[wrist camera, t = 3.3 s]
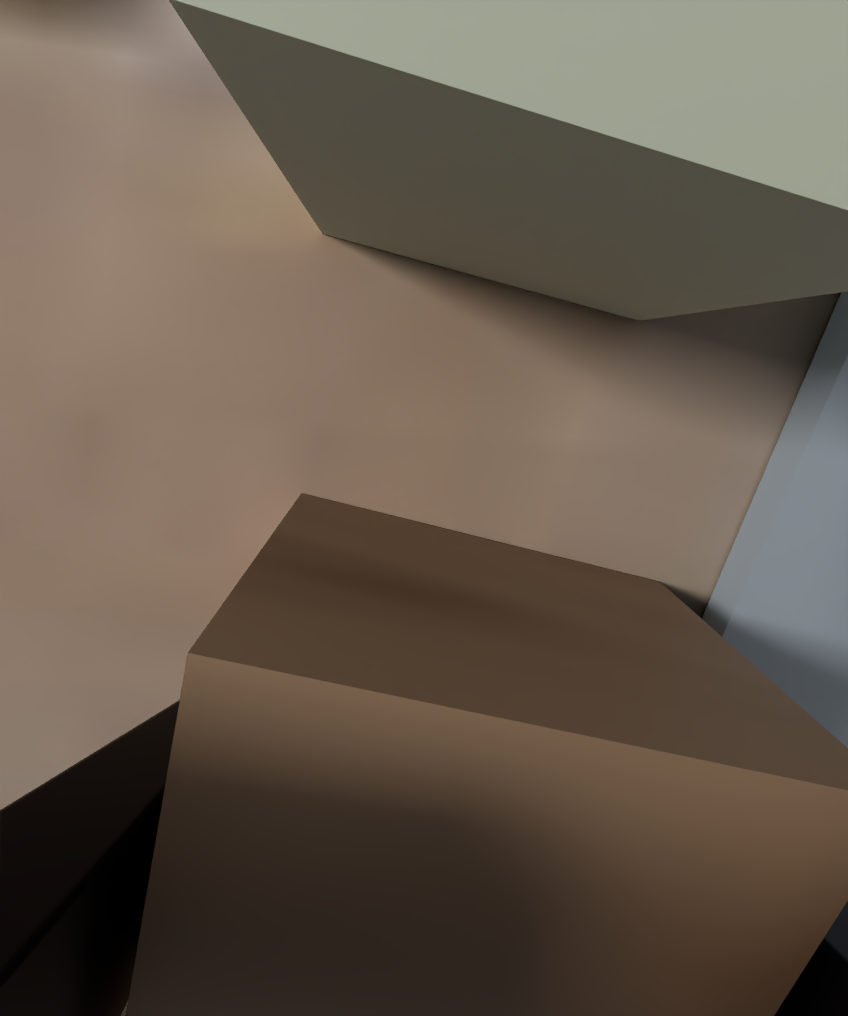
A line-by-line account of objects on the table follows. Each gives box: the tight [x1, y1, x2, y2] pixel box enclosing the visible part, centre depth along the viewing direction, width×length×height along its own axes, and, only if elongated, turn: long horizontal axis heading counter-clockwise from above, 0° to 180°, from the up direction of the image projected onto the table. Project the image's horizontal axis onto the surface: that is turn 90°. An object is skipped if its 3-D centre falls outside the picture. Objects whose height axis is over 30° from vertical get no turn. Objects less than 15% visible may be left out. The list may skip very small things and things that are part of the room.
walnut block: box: [126, 493, 848, 1016], centre depth 7 cm, size 6×6×4 cm
